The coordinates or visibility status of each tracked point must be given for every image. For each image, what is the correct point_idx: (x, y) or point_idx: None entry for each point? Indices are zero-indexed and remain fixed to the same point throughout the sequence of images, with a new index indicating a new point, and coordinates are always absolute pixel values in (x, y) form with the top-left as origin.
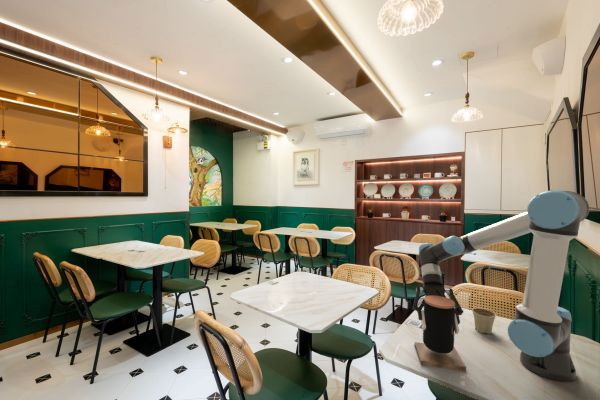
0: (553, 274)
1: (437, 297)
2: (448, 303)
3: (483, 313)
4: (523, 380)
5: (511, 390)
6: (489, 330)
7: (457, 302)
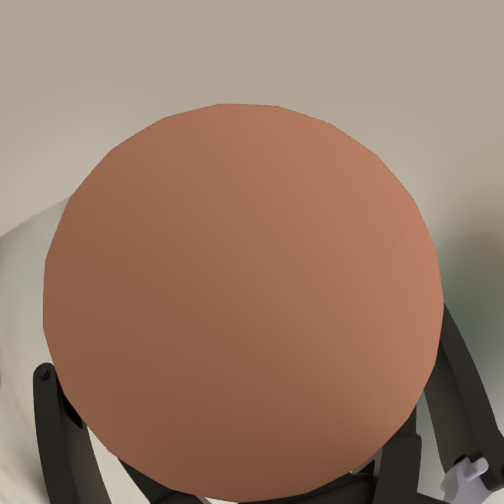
0: None
1: (284, 426)
2: (132, 212)
3: None
4: (14, 278)
5: (53, 217)
6: None
7: (44, 449)
